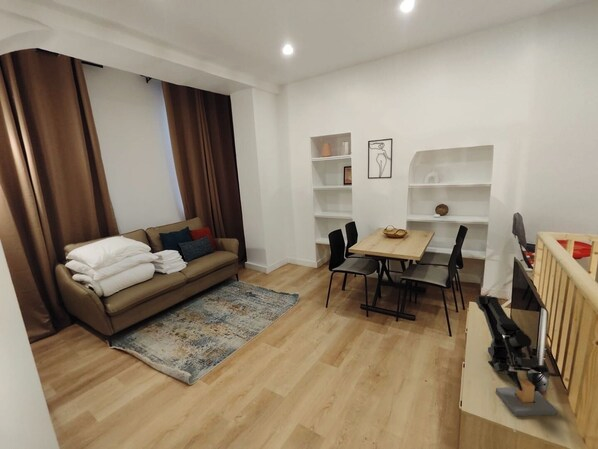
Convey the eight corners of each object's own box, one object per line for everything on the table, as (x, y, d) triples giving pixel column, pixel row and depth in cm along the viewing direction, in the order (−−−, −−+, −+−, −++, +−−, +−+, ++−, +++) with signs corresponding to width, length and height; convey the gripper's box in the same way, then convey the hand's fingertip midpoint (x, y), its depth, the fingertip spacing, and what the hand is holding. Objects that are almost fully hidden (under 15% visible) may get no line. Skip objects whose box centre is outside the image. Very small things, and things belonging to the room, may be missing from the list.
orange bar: (515, 399, 120) (517, 379, 118) (525, 398, 120) (527, 379, 118) (522, 407, 116) (524, 386, 114) (532, 406, 116) (534, 386, 114)
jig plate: (495, 392, 124) (496, 387, 123) (532, 391, 123) (532, 386, 123) (515, 416, 112) (515, 410, 112) (555, 414, 111) (556, 409, 111)
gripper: (498, 346, 119) (510, 388, 110) (549, 349, 115) (565, 392, 106) (489, 350, 128) (499, 389, 119) (535, 353, 124) (549, 393, 115)
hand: (527, 391), depth 115 cm, fingers closed on orange bar, 4 cm apart
